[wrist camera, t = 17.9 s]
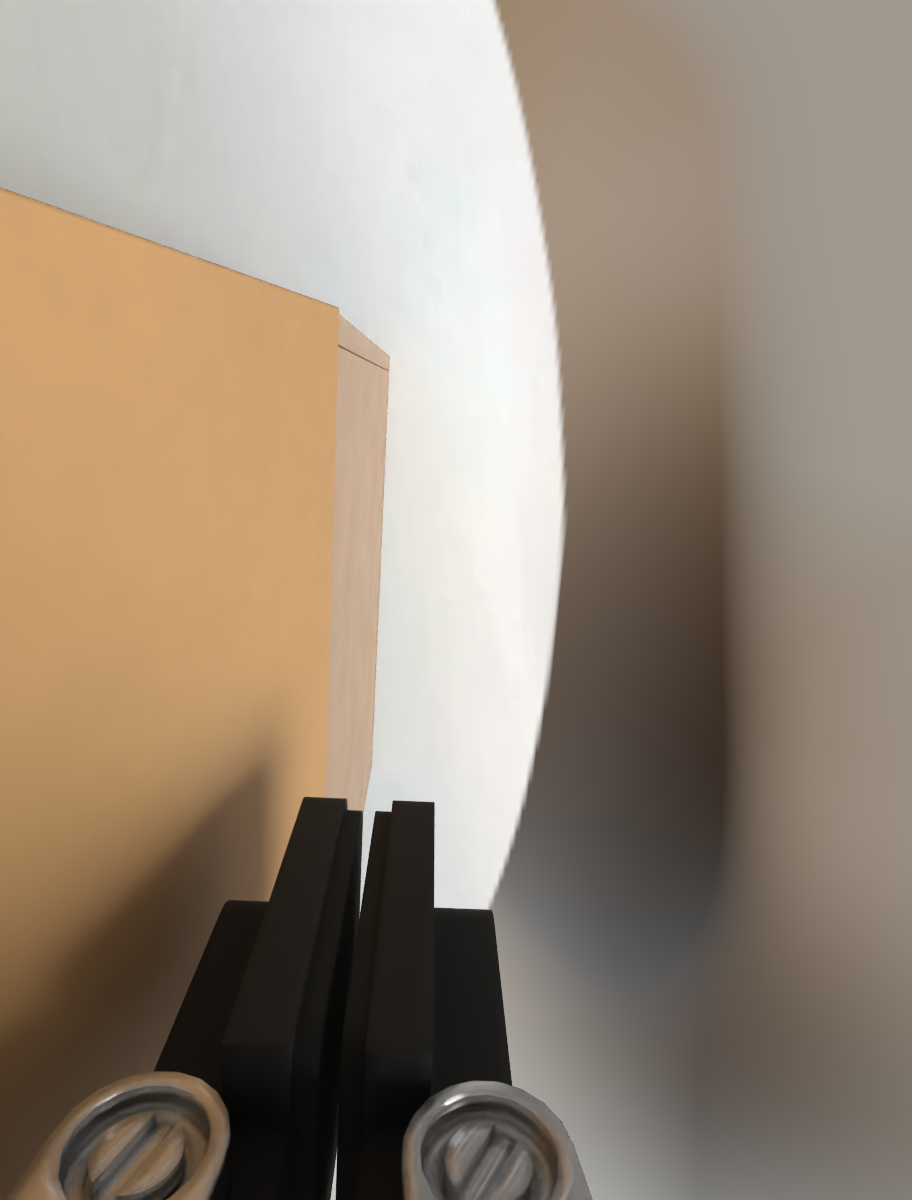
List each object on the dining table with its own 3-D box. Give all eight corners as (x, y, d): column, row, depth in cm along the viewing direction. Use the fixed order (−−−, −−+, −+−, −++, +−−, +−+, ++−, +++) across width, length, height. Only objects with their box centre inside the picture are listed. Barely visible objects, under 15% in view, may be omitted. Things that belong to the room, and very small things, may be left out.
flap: (315, 306, 11) (340, 307, 11) (297, 1121, 15) (316, 1126, 15) (-390, 72, 4) (-320, 71, 3) (-62, 1905, 7) (-25, 1924, 7)
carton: (389, 355, 26) (335, 308, 12) (371, 766, 30) (313, 1096, 16) (-135, 318, 25) (-841, 221, 11) (-86, 743, 29) (-571, 1065, 15)
